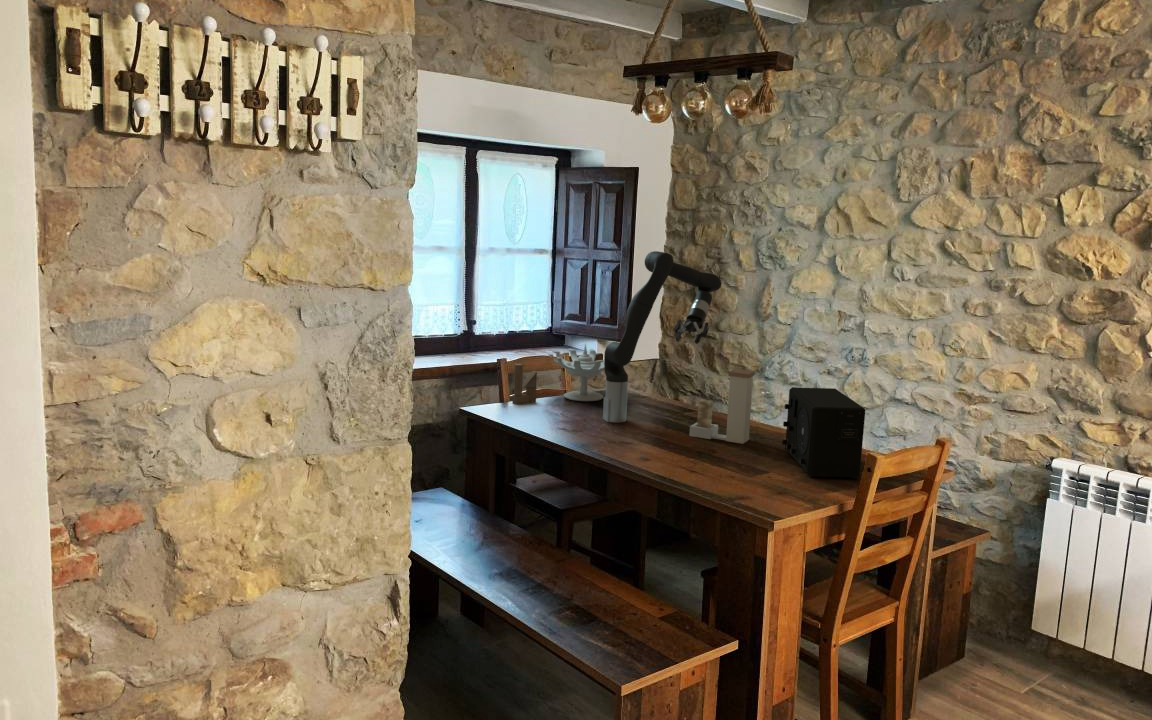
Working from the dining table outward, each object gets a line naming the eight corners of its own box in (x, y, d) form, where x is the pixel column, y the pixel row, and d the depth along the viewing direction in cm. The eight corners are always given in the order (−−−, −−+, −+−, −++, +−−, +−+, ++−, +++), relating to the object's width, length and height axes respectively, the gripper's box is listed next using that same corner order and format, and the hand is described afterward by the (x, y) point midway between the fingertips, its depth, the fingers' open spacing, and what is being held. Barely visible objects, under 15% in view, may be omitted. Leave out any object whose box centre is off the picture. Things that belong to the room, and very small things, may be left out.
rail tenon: (696, 435, 356) (698, 401, 353) (700, 433, 360) (702, 399, 357) (707, 437, 354) (709, 402, 351) (710, 435, 358) (712, 400, 355)
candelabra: (629, 405, 407) (631, 346, 402) (554, 406, 399) (555, 346, 395) (610, 390, 440) (612, 336, 435) (540, 391, 432) (542, 335, 427)
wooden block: (536, 402, 408) (537, 363, 405) (516, 404, 401) (517, 365, 398) (531, 400, 411) (532, 362, 408) (512, 403, 404) (512, 364, 401)
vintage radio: (777, 450, 338) (782, 385, 334) (828, 451, 338) (833, 387, 334) (802, 479, 301) (808, 407, 297) (860, 481, 301) (866, 409, 297)
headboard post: (689, 435, 355) (693, 367, 350) (697, 431, 362) (701, 364, 358) (743, 444, 344) (748, 374, 340) (750, 439, 352) (755, 371, 347)
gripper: (680, 305, 386) (668, 334, 378) (711, 308, 379) (700, 337, 371) (684, 316, 391) (673, 345, 383) (715, 319, 384) (704, 348, 376)
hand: (686, 341), depth 377 cm, fingers open, 8 cm apart
